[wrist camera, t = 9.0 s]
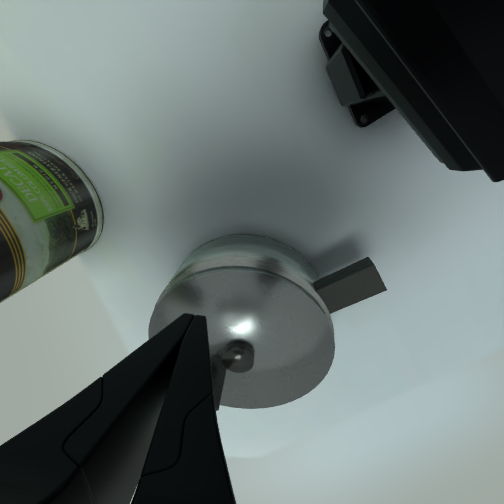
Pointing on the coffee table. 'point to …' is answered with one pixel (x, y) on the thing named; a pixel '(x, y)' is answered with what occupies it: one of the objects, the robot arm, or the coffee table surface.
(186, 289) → the lid
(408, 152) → the coffee table surface
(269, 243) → the pot
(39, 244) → the coffee can
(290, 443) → the coffee table surface
